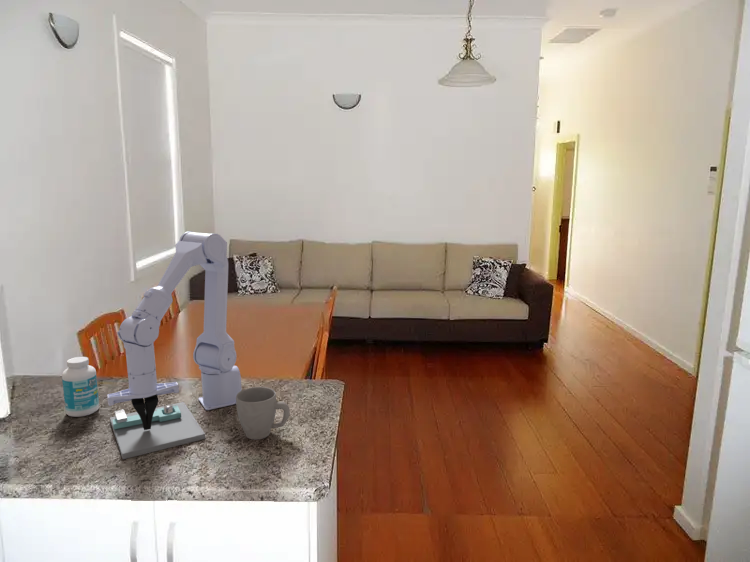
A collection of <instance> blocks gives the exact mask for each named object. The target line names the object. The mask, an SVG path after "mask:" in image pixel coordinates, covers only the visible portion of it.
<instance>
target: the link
mask: <svg viewBox="0 0 750 562" xmlns="http://www.w3.org/2000/svg"><path fill="white" fill-rule="evenodd" d="M176 418H181V412H180V410H179V408H178V406H177V405H176V406H173V413H168V414H164V408H160V409H156V411H154V414H153V418H152V422H153V421H158V420H159V421H160V422H162V421H167V420H172V419H176ZM138 424H143V423H142V420H141V418H140V416H139V415H134V416H128V417H127V421H125V422H120V423H118V422H117V419H113V427H114V429H119V428H124V427H129V426H133V425H138Z"/></svg>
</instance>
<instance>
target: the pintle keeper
mask: <svg viewBox="0 0 750 562" xmlns="http://www.w3.org/2000/svg"><path fill="white" fill-rule="evenodd" d="M163 406H164V414H168V413H173V405H171V404H166V405H163ZM126 414H127V413H126V411H125V410H124V408H122V409H119V410H114V417H115V419H117V422H118V423H120V422H125V421H127V416H126Z"/></svg>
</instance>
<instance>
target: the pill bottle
mask: <svg viewBox="0 0 750 562" xmlns="http://www.w3.org/2000/svg"><path fill="white" fill-rule="evenodd" d="M89 364H90V360H89V357H87V356H75V357H72V358H69V359H67V361H66V366H67V368H65V369H64V370H63V372H62V373H61V380H62V381H61V382H62V390H63V397H64V398H63V400H64V408H65V414H67V415H68V416H69V417H75V418H79V417H85V416H89V415H92V414H94V413H96V412H97V411H98V410H99V408H100V401H99V391H98V390H99V388H98V379H97V371H96V368H95V367H94V366H92V365H89ZM67 415H66V416H67Z"/></svg>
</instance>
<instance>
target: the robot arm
mask: <svg viewBox="0 0 750 562" xmlns="http://www.w3.org/2000/svg"><path fill="white" fill-rule="evenodd" d="M227 251H228V242H227V241H226V240H225V239H224V238H223V236H221V234H218V233H209V232H207V233H206V232H195V231H192V230H191V231H190V230H189V231H185V232H184V233H182V235H181V236H180V238H179V240H178V241H177V243H176V244H175V253H174V255H173V257H172V259H171V260H170V261H169V264H168V265H167V268H166V270H165V271H164V273H163V275H162V277H161V278H160V280H159V282H158V284H157V285H156V286H153V287H150V288H148V290H145V291H144V293H143V295H142V296H143V298H142V299H141V300H140V302H139V303H138V305H137V307H136V308H135V309H134V310H133V312H132V313H131V316H128V317H127V318H124V320H123V321H122V322H121V324H120V326H119V330H118V331H117V336H118V339H120V341H121V342H122V343H123V348H124V349H125V357H126V359H125V360H126V370H127V379H128V388H126V389H122V390H119V391H117V392H113V393H108V394H106V396H107V397H106V398H107V399H106V400H107V404H108V407H110V406H114V405H115V404H119V403H125V402H130V401H131V405H132V407H133V409H134V410H135V412H137V413H138V414H139V416H140V418H141V420H142V423H143V428H144V430H148V429H151V422H152V418H153V414H154V411H155V409H156V408H157V407H158V404H159V397H158V396H162V395H166V394H167V395H168V394H172V393H173V394H177V393H178V394H179V393H180V388H179V387H180V385H179V383H178V382H177V381H173V382H164V383H163V382H162V383H160V382H159V383H158V381H157V369H156V368H157V367H156V358H155V356H156V355H155V345H154V343H155V341H156V340H157V339H158V337H159V336H160V335H159V334H160V326H161V321H162V319H163V317H164V316H165V315H166V313H167V311H168V310H169V308H170V306H171V305H172V303H173V296H172V293H173V292H174V291H175V289H176V288H177V287H178V285H179V284H180V283H181V282H182V280H183V278H184V277H185V276H186V274H187V273H188V271H189V270H190V269H191V268H193V267H197V266H200V267H201V268H202V269H204V272H205V273H204V275H205V276H204V280H205V281H204V303H203V304H204V305H203V307H204V308H203V310H204V311H203V332H202V333H200V334H199V336H198V337H196V343H195V347H194V350H193V354H192V358H193V361H194V362H195V364H196V365H198V370H200V375H201V376H200V377H201V378H200V379H201V389H202V390H201V391H202V396H201V397H200V396H199V397H198V400H197V401H199V403H200V404H201V405H202V406H203V408H204V409H205V410H206V411H211V410H214V409H215V410H216V409H218V408H224V407H228V406H233V405H236V396H237V394H238V393H239V392H240V391H242V390H243V388H242V376H241V375H242V374H241V371H240V369H239V367H238V366H237V365H235V364H236V362H237V351H236V348H235V340H234V339H233V338H232V337H231V336H230V335H229V334H228V332H227V321H228V320H227V316H228V315H227V314H228V313H227V312H228V291H229V290H228V289H229V287H228V286H229V285H228V284H229V259H228V256H227V253H228V252H227ZM145 410H146V411H145Z"/></svg>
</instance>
